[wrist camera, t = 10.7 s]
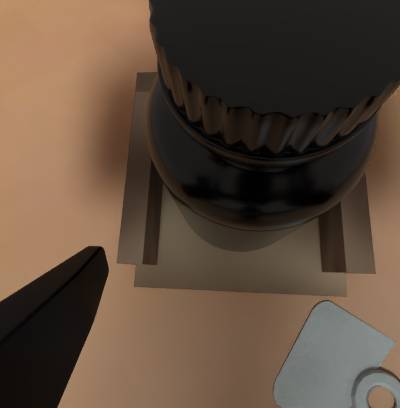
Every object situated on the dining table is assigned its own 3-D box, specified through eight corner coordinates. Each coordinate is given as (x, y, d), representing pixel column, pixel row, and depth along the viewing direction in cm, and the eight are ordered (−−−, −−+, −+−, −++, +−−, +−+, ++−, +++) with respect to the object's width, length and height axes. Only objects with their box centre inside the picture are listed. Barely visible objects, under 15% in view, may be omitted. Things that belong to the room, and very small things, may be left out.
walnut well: (341, 295, 15) (378, 303, 12) (137, 286, 16) (113, 290, 12) (327, 109, 18) (354, 69, 14) (152, 109, 19) (137, 72, 15)
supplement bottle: (309, 245, 15) (598, 162, 4) (186, 259, 16) (84, 224, 4) (286, 133, 17) (433, -174, 5) (176, 147, 17) (82, -113, 6)
